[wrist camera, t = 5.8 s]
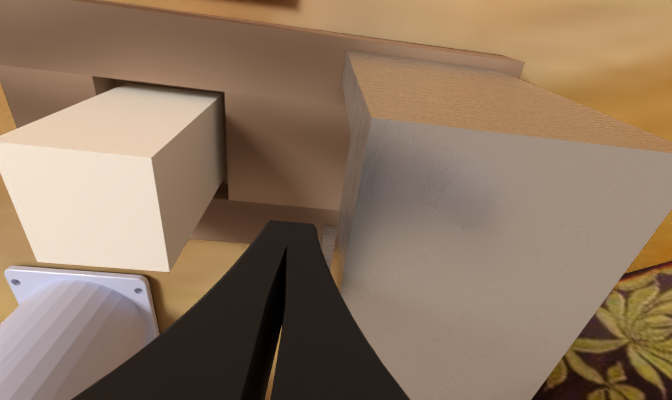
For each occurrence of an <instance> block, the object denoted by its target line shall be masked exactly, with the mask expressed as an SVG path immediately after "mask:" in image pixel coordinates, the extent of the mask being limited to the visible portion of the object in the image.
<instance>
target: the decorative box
mask: <svg viewBox="0 0 672 400" xmlns="http://www.w3.org/2000/svg"><path fill="white" fill-rule="evenodd" d="M531 400H672V261H669V262H666V263H662V264H659V265H655V266H651V267H648V268H644V269H641V270H637V271H633V272H630V273H626V274H623V276H622V277H621V278H620V280H619V281H618V282H617V284H616V285H615V286H614V288H613V289H612V291H611V292H610V293H609V295H608V296H607V297H606V299H605V300H604V301H603V303H602V304H601V305H600V307H599V308H598V310H597V311H596V312H595V314H594V315H593V316H592V318H591V319H590V320H589V322H588V323H587V324H586V326H585V327H584V329H583V330H582V331H581V333H580V334H579V335H578V337H577V338H576V339H575V341H574V342H573V344H572V345H571V346H570V348H569V349H568V350H567V352H566V353H565V354H564V356H563V357H562V358H561V360H560V361H559V363H558V364H557V365H556V367H555V368H554V369H553V371H552V372H551V373H550V375H549V376H548V377H547V379H546V380H545V382H544V383H543V384H542V386H541V387H540V388H539V390H538V391H537V392H536V394H535V395H534V396H533V398H532V399H531Z"/></svg>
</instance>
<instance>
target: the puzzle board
mask: <svg viewBox="0 0 672 400" xmlns="http://www.w3.org/2000/svg"><path fill="white" fill-rule="evenodd" d="M346 50H347V51H355V52H362V53H370V54H377V55H385V56H392V57H400V58H407V59H415V60H422V61H430V62H437V63H445V64H452V65H460V66H467V67H474V68H482V69H489V70H497V71H501V72H504V73H506V74H508V75H511V76H513V77H516V78H518V79H519V77H520V74H521V72H522V69H523V66H524V64H525V62H521V61H518V60H515V59H512V58H509V57H506V56H503V55H496V54H489V53H482V52H474V51H467V50H460V49H453V48H445V47H438V46H431V45H423V44H416V43H409V42H402V41H394V40H387V39H380V38H373V37H365V36H358V35H351V34H344V33H336V32H329V31H322V30H315V29H307V28H300V27H293V26H285V25H278V24H271V23H264V22H256V21H249V20H242V19H235V18H227V17H220V16H213V15H206V14H198V13H191V12H184V11H176V10H169V9H162V8H155V7H147V6H140V5H133V4H126V3H118V2H111V1H104V0H0V82H1V85H2V88H3V91H4V94H5V96H6V99H7V102H8V105H9V107H10V110H11V113H12V116H13V118H14V121H15V124H16V127H17V128H20V127H22V126H25V125H27V124H29V123H32V122H34V121H37V120H39V119H41V118H44V117H46V116H49V115H51V114H54V113H56V112H58V111H61V110H63V109H66V108H68V107H70V106H73V105H75V104H78V103H80V102H82V101H85V100H87V99H90V98H92V97H95V96H97V95H99V94H102V93H104V92H107V91H109V90H111V89H114V88H116V87H119V86H121V85H123V84H126V83H134V84H142V85H150V86H159V87H167V88H175V89H184V90H192V91H201V92H209V93H217V94H222V99H223V122H224V145H225V168H226V176H225V177H224V179H223V181H222V183H221V184H220V186H219V188H218V190H217V191H216V193H215V195H214V196H213V198H212V200H211V202H210V203H209V205H208V207H207V208H206V210H205V212H204V214H203V215H202V217H201V219H200V221H199V222H198V224H197V226H196V227H195V229H194V231H193V233H192V234H191V236H190V238H189V239H198V240H210V241H222V242H234V243H246V244H251V243H252V242H253V241H254V240H255V238H256V237H257V236H258V234H259V233H260V231H261V230H262V228H263V227H264V225H265V224H266V223H267V222H268V221H270V220H276V221H287V222H298V223H310V224H314V225H315V227H316V228H317V234H318V238H319V242H320V246H321V242H322V235H323V227H324V226H333V227H337V224H338V217H339V211H340V204H341V198H342V191H343V185H344V178H345V172H346V165H347V159H348V152H349V146H350V139H351V131H350V126H349V120H348V114H347V109H346V103H345V97H344V91H343V86H342V80H343V73H344V65H345V57H346Z"/></svg>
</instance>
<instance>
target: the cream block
mask: <svg viewBox="0 0 672 400" xmlns="http://www.w3.org/2000/svg"><path fill="white" fill-rule="evenodd" d="M0 173H1V175H2V178H3V180H4V183H5V185H6V187H7V190H8V192H9V195H10V197H11V200H12V202H13V204H14V207H15V209H16V212H17V214H18V216H19V219H20V221H21V224H22V226H23V228H24V231H25V233H26V236H27V238H28V240H29V243H30V245H31V248H32V250H33V253H34V255H35V257H36V260H37V262H45V263H58V264H72V265H85V266H98V267H111V268H124V269H137V270H150V271H163V272H170V271H171V269H172V267H173V265H174V264H175V262H176V260H177V258H178V257H179V255H180V253H181V252H182V250H183V248H184V246H185V245H186V243H187V241H188V240H189V238H190V236H191V234H192V233H193V231H194V229H195V227H196V226H197V224H198V222H199V221H200V219H201V217H202V215H203V214H204V212H205V210H206V208H207V207H208V205H209V203H210V202H211V200H212V198H213V196H214V195H215V193H216V191H217V190H218V188H219V186H220V184H221V183H222V181H223V179H224V177H225V176H226V168H225V145H224V122H223V99H222V94H217V93H209V92H201V91H192V90H184V89H175V88H167V87H159V86H150V85H142V84H134V83H126V84H123V85H121V86H119V87H116V88H114V89H111V90H109V91H107V92H104V93H102V94H99V95H97V96H95V97H92V98H90V99H87V100H85V101H82V102H80V103H78V104H75V105H73V106H70V107H68V108H66V109H63V110H61V111H58V112H56V113H54V114H51V115H49V116H46V117H44V118H41V119H39V120H37V121H34V122H32V123H29V124H27V125H25V126H22V127H20V128H17V129H15V130H13V131H10V132H8V133H5V134H3V135H0Z"/></svg>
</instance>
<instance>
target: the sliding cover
mask: <svg viewBox="0 0 672 400" xmlns="http://www.w3.org/2000/svg"><path fill="white" fill-rule="evenodd" d="M342 86H343V91H344V97H345V103H346V109H347V114H348V120H349V126H350V131H351V139H350V146H349V152H348V159H347V165H346V172H345V178H344V185H343V191H342V198H341V204H340V211H339V217H338V224H337V227H333V226H324V227H323V235H322V242H321V249H322V252H323V255H324V257H325V260H326V263H327V265H328V267H329V270H330V272H331V274H332V277H333V279H334V281H335V283H336V286H337V288H338V290H339V292H340V294H341V296H342V298H343V300H344V301H345V303H346V305H347V307H348V309H349V311H350V313H351V314H352V316H353V318H354V320H355V321H356V323H357V325H358V326H359V328H360V330H361V331H362V333H363V334H364V336H365V338H366V339H367V341H368V342H369V344H370V345H371V347H372V348H373V350H374V351H375V353H376V354H377V356H378V357H379V359H380V360H381V361H382V363H383V364H384V366H385V367H386V368H387V370H388V371H389V372H390V374H391V375H392V376H393V377H394V379H395V380H396V381H397V383H398V384H399V385H400V387H401V388H402V389H403V391H404V392H405V393H406V394H407V396H408V397H409V398H410V400H531V399H532V398H533V396H534V395H535V394H536V392H537V391H538V390H539V388H540V387H541V386H542V384H543V383H544V382H545V380H546V379H547V377H548V376H549V375H550V373H551V372H552V371H553V369H554V368H555V367H556V365H557V364H558V363H559V361H560V360H561V358H562V357H563V356H564V354H565V353H566V352H567V350H568V349H569V348H570V346H571V345H572V344H573V342H574V341H575V339H576V338H577V337H578V335H579V334H580V333H581V331H582V330H583V329H584V327H585V326H586V324H587V323H588V322H589V320H590V319H591V318H592V316H593V315H594V314H595V312H596V311H597V310H598V308H599V307H600V305H601V304H602V303H603V301H604V300H605V299H606V297H607V296H608V295H609V293H610V292H611V291H612V289H613V288H614V286H615V285H616V284H617V282H618V281H619V280H620V278H621V277H622V276H623V274H624V273H625V272H626V270H627V269H628V267H629V266H630V265H631V263H632V262H633V261H634V259H635V258H636V257H637V255H638V254H639V253H640V251H641V250H642V248H643V247H644V246H645V244H646V243H647V242H648V240H649V239H650V238H651V236H652V235H653V234H654V232H655V231H656V229H657V228H658V227H659V225H660V224H661V223H662V221H663V220H664V219H665V217H666V216H667V214H668V213H669V212H670V210H671V209H672V142H671V141H668V140H666V139H664V138H661V137H659V136H656V135H654V134H651V133H649V132H647V131H644V130H642V129H639V128H637V127H634V126H632V125H630V124H627V123H625V122H622V121H620V120H617V119H615V118H613V117H610V116H608V115H605V114H603V113H600V112H598V111H596V110H593V109H591V108H588V107H586V106H584V105H581V104H579V103H576V102H574V101H571V100H569V99H567V98H564V97H562V96H559V95H557V94H554V93H552V92H550V91H547V90H545V89H542V88H540V87H537V86H535V85H533V84H530V83H528V82H525V81H523V80H520V79H518V78H516V77H513V76H511V75H508V74H506V73H504V72H501V71H497V70H489V69H482V68H474V67H467V66H460V65H452V64H445V63H437V62H430V61H422V60H415V59H407V58H400V57H392V56H385V55H377V54H370V53H362V52H355V51H347V50H346V57H345V65H344V73H343V80H342Z"/></svg>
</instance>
